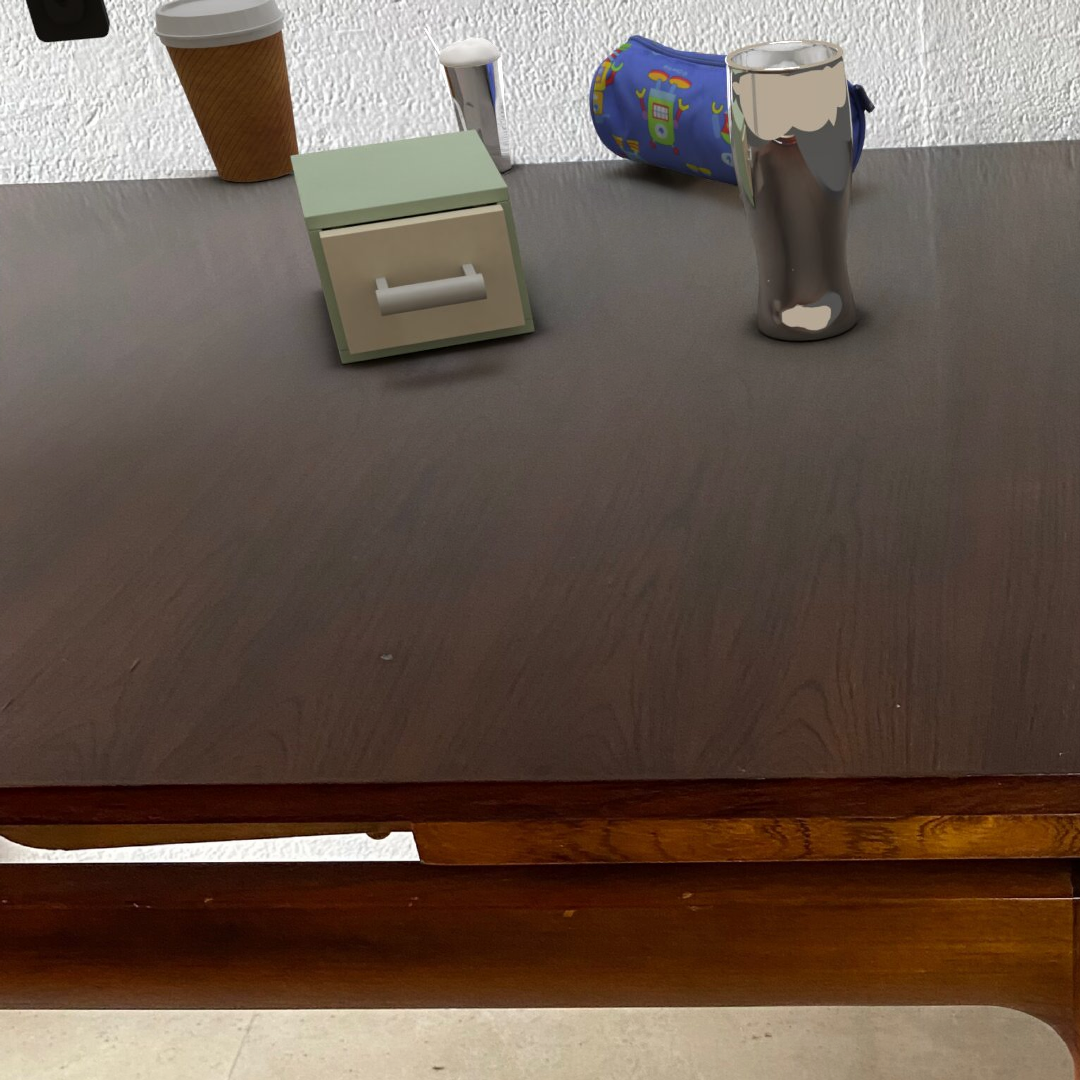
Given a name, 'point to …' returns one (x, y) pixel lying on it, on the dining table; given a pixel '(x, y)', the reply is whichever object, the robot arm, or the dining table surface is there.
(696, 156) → the pencil case
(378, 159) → the cabinet
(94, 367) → the dining table surface
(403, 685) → the dining table surface
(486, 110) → the milkshake
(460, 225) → the drawer
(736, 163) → the beer glass
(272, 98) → the disposable coffee cup
